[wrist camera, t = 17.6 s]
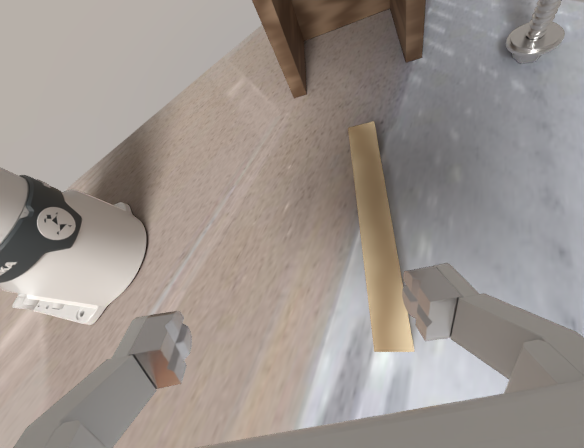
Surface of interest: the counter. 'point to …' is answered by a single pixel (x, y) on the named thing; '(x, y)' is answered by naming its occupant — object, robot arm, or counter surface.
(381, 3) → the tall brown box
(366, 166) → the tan wooden bar
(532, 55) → the screw
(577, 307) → the counter surface
